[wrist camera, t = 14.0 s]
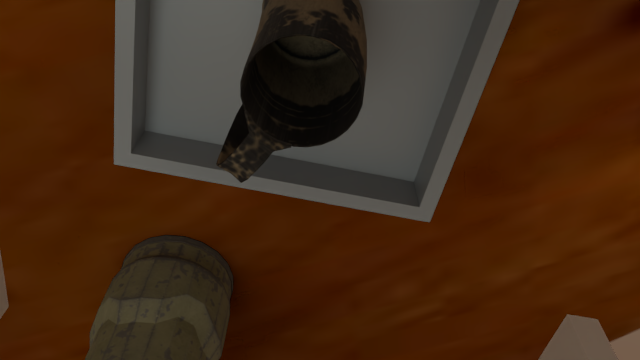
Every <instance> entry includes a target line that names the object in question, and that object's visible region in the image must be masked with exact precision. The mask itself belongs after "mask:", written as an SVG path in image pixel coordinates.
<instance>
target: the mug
mask: <svg viewBox="0 0 640 360" xmlns="http://www.w3.org/2000/svg"><path fill="white" fill-rule="evenodd" d="M366 71H367V37H366V31H365V24H364V18H363V11H362V6H361V4H360V2H359V0H263V3H262V13H261V18H260V22H259V27H258V30H257V33H256V37H255V40H254V43H253V46H252V48H251V51H250V54H249V56H248V59H247V62H246V64H245V67H244V70H243V74H242V77H241V81H240V97H241V100H242V106H241V107H240V109H239V111H238V112H237V114H236V116H235V119H234V121H233V123H232V125H231V128H230V130H229V132H228V135H227V137H226V139H225V142H224V144H223V147H222V149H221V152H220V154H219V157H218V160H217V163H216V165H217V166H218V167H219V168H221V169H223V170H225V171H227V172H229V173H231V174H232V175H233V176H234V177H235V178H236V179H237V180H238V181H239V182H241V183H242V182H244V181H246V180H248V179H249V178H250V177H251V176H252V175H253V174H254V173H255V172H256V171H257V170H258V169H259V168H260V167H261V166H262V165H263V164H264V162H265V161H266V160H267V159H268V157H269V156H270V155H271V154H272V152H274V151H278V150H283V149H287V148H291V146H293V147H313V146H319V145H323V144H325V143H328V142H330V141H333V140H335V139H337V138H338V137H339V136H341V135H342V134H343V133H345V132H346V131H347V130H348V129H349V128H350V127H351V125H352V124H353V123H354V122H355V120H356V119H357V117H358V115H359V112H360V110H361V108H362V105H363V97H364V89H365V80H366Z"/></svg>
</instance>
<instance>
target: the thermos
mask: <svg viewBox="0 0 640 360" xmlns="http://www.w3.org/2000/svg"><path fill="white" fill-rule="evenodd" d="M232 292H233V275H232V272H231V270H230V268H229V265H228V263H227V262H226V261H225V260H224V259H223V258H222V257H221V255H220V254H219V253H218V252H217V251H215V250H214V249H212V248H210V247H209V246H207V245H206V244H204V243H203V242H200V241H197V240H193V239H190V238H187V237H183V236H171V235H164V236H159V237H153V238H149V239H147V240H145V241H143V242H141V243H139V244H137V245H135V246H134V247H133V249H132V250H131V251H130V252H129V253H128V254H127V255H126V257H125V259H124V262H123V265H122V268H121V270H120V271H119V273H118V274H117V275H116V276H115V277H114V278H113V280H112V282H111V284H110V286H109V288H108V290H107V292H106V295H105V297H104V299H103V301H102V303H101V305H100V307H99V310H98V312H97V315H96V318H95V320H94V323H93V326H92V328H91V331H90V349H89V351H88V354H87V356H86V358H85V360H219V359H220V357H221V355H222V350H223V345H224V340H225V335H226V331H227V326H228V321H229V316H230V297H231V295H232Z"/></svg>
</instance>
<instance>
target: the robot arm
mask: <svg viewBox="0 0 640 360" xmlns="http://www.w3.org/2000/svg"><path fill="white" fill-rule="evenodd" d="M7 308H8V299H7V292H6V286H5V279H4V272H3V266H2V259H1V252H0V318H1V317H2V315H3V314H4V312H5V311H6V309H7ZM538 360H618V358H617V356H616V354H615V352H614V351H613V349H612V347H611V345H610V343H609V341H608V339H607V337H606V335H605V333H604V331H603V329H602V327H601V325H600V323H599V321H598V319H592V318H586V317H580V316H574V315H568V314H567V316H566V317H565V319H564V320H563V322H562V323H561V325H560V326H559V328H558V330H557V331H556V333H555V334H554V336H553V337H552V339H551V341H550V342H549V344H548V345H547V347H546V348H545V350H544V352H543V353H542V355H541V356H540V358H539V359H538Z"/></svg>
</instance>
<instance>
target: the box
mask: <svg viewBox="0 0 640 360" xmlns="http://www.w3.org/2000/svg"><path fill="white" fill-rule="evenodd" d="M359 2H360V4H361V6H362V11H363V18H364V24H365V31H366V37H367V71H366V80H365V89H364V97H363V105H362V108H361V110H360V112H359V115H358V117H357V119H356V120H355V122H354V123H353V124H352V125H351V127H350V128H349V129H348V130H347V131H346V132H345V133H343V134H342V135H341V136H339V137H338V138H337V139H335V140H333V141H330V142H328V143H325V144H323V145H319V146H313V147H293V146H291V148H287V149H283V150H278V151H274V152H272V154H271V155H270V156H269V157H268V159H267V160H266V161H265V162H264V164H263V165H262V166H261V167H260V168H259V169H258V170H257V171H256V172H255V173H254V174H253V175H252V176H251V177H250V178H249V179H248V180H246V181H244V182H242V183H241V182H239V181H238V180H237V179H236V178H235V177H234V176H233V175H232V174H231V173H229V172H227V171H225V170H223V169H221V168H219V167H218V166H217V165H216V163H217V160H218V157H219V154H220V152H221V149H222V147H223V144H224V142H225V139H226V137H227V135H228V132H229V130H230V128H231V125H232V123H233V121H234V119H235V116H236V114H237V112H238V111H239V109H240V107H241V106H242V100H241V97H240V81H241V77H242V74H243V70H244V67H245V64H246V62H247V59H248V56H249V54H250V51H251V48H252V46H253V43H254V40H255V37H256V33H257V30H258V27H259V22H260V18H261V13H262V3H263V0H115V99H114V164H115V165H121V166H126V167H132V168H137V169H143V170H148V171H153V172H159V173H164V174H170V175H175V176H181V177H186V178H191V179H197V180H202V181H208V182H213V183H219V184H224V185H230V186H235V187H240V188H246V189H251V190H257V191H262V192H268V193H273V194H278V195H284V196H289V197H295V198H300V199H306V200H311V201H316V202H322V203H327V204H333V205H338V206H344V207H349V208H354V209H360V210H365V211H371V212H376V213H382V214H387V215H392V216H398V217H403V218H409V219H414V220H420V221H425V222H430V220H431V218H432V215H433V213H434V211H435V208H436V206H437V203H438V201H439V198H440V196H441V193H442V191H443V188H444V186H445V183H446V181H447V178H448V176H449V173H450V171H451V168H452V166H453V164H454V161H455V159H456V156H457V154H458V151H459V149H460V146H461V144H462V141H463V139H464V136H465V134H466V131H467V129H468V126H469V124H470V121H471V119H472V116H473V114H474V112H475V109H476V107H477V104H478V102H479V99H480V97H481V94H482V92H483V89H484V87H485V84H486V82H487V79H488V77H489V74H490V72H491V69H492V67H493V65H494V62H495V60H496V57H497V55H498V52H499V50H500V47H501V45H502V42H503V40H504V37H505V35H506V32H507V30H508V27H509V25H510V22H511V20H512V18H513V15H514V13H515V10H516V8H517V5H518V3H519V0H359Z"/></svg>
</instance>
